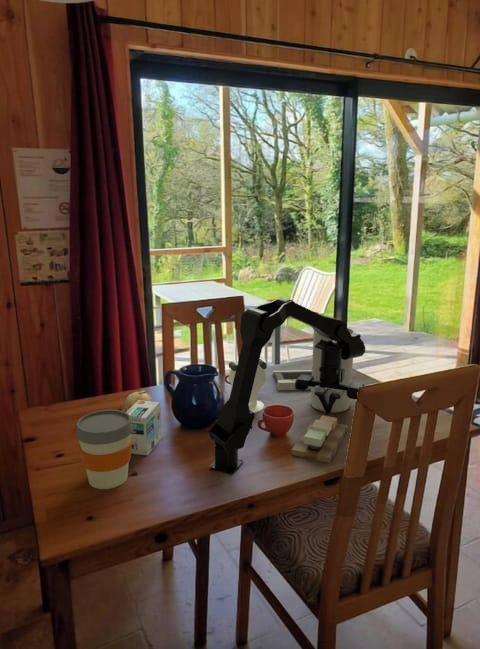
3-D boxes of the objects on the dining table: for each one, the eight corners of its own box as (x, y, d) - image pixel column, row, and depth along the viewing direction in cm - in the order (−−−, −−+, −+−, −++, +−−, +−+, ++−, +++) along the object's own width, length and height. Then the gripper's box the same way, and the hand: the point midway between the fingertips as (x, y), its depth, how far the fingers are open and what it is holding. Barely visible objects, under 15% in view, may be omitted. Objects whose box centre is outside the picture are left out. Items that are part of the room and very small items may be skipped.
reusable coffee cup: (122, 496, 110) (118, 435, 106) (70, 490, 112) (65, 430, 108) (143, 467, 122) (140, 411, 118) (95, 462, 124) (91, 407, 120)
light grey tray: (278, 382, 169) (272, 363, 185) (277, 394, 171) (272, 375, 186) (327, 381, 170) (317, 362, 186) (326, 393, 172) (316, 374, 187)
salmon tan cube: (332, 435, 137) (333, 424, 136) (317, 432, 139) (318, 421, 138) (336, 429, 141) (337, 418, 140) (321, 426, 143) (322, 415, 142)
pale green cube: (320, 452, 125) (320, 439, 124) (303, 448, 127) (304, 436, 126) (324, 444, 129) (325, 432, 128) (308, 441, 131) (309, 429, 130)
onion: (144, 418, 148) (142, 397, 146) (121, 415, 151) (119, 393, 149) (156, 408, 156) (155, 387, 154) (134, 405, 158) (133, 384, 156)
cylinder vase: (349, 399, 163) (353, 326, 156) (350, 415, 151) (355, 337, 145) (311, 396, 165) (314, 324, 159) (309, 412, 153) (313, 335, 147)
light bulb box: (148, 456, 127) (146, 418, 124) (123, 453, 128) (121, 415, 125) (162, 437, 137) (161, 401, 134) (139, 434, 138) (137, 399, 135)
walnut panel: (329, 463, 123) (329, 457, 123) (291, 454, 128) (291, 449, 127) (347, 430, 141) (347, 425, 141) (313, 423, 145) (313, 418, 145)
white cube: (326, 441, 131) (327, 429, 130) (311, 437, 133) (311, 425, 132) (331, 434, 135) (331, 422, 134) (315, 430, 137) (316, 419, 136)
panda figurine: (257, 397, 164) (258, 354, 160) (271, 410, 154) (272, 365, 150) (223, 402, 160) (223, 358, 156) (235, 416, 150) (235, 370, 146)
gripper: (370, 358, 138) (367, 409, 142) (307, 350, 146) (305, 398, 150) (362, 371, 128) (359, 425, 132) (295, 361, 136) (293, 413, 140)
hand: (328, 414), depth 139 cm, fingers closed
